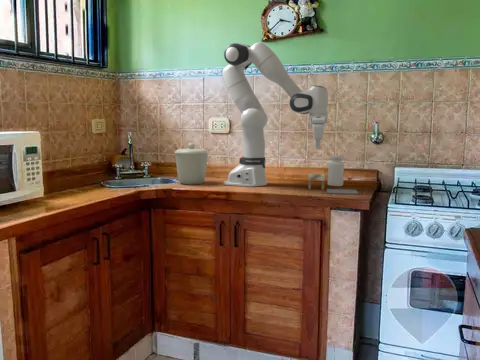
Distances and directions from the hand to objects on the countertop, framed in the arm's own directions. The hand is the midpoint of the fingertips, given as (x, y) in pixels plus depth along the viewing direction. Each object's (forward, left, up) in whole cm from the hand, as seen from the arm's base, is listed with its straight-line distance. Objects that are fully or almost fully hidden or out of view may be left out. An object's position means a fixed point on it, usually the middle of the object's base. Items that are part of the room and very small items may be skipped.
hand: (317, 148), depth 223 cm
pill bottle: (+10, +15, -20) cm, 27 cm away
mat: (+12, -7, -20) cm, 24 cm away
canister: (-64, +4, -20) cm, 67 cm away
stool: (0, 0, -20) cm, 20 cm away
